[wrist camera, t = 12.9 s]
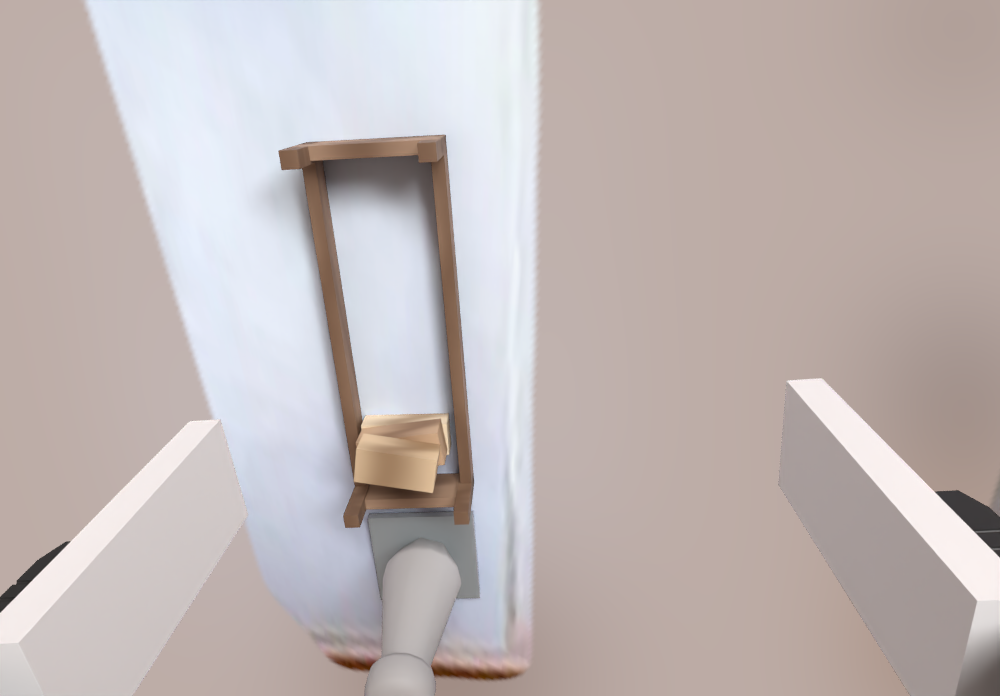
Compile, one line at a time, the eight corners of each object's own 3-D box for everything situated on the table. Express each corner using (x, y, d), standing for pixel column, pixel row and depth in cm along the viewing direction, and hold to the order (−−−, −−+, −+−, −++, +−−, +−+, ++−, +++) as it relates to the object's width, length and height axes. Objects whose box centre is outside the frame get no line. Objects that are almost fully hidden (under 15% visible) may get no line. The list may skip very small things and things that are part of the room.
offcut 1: (449, 410, 47) (446, 423, 45) (451, 440, 48) (449, 454, 46) (367, 412, 47) (361, 425, 45) (371, 442, 48) (365, 456, 46)
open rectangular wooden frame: (445, 134, 39) (435, 142, 34) (473, 481, 49) (469, 524, 44) (306, 142, 39) (278, 150, 35) (361, 485, 49) (345, 527, 44)
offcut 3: (440, 444, 43) (437, 460, 42) (436, 475, 44) (432, 493, 42) (363, 433, 43) (356, 449, 41) (360, 465, 44) (353, 481, 42)
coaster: (473, 510, 50) (472, 515, 49) (479, 592, 53) (479, 597, 52) (369, 513, 50) (367, 518, 49) (382, 594, 53) (380, 600, 52)
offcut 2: (440, 418, 45) (437, 432, 43) (447, 449, 46) (444, 464, 44) (362, 428, 45) (355, 442, 44) (370, 458, 46) (364, 474, 44)
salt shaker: (476, 548, 50) (462, 696, 38) (443, 598, 52) (420, 753, 40) (408, 517, 49) (372, 659, 37) (377, 569, 51) (333, 719, 39)
